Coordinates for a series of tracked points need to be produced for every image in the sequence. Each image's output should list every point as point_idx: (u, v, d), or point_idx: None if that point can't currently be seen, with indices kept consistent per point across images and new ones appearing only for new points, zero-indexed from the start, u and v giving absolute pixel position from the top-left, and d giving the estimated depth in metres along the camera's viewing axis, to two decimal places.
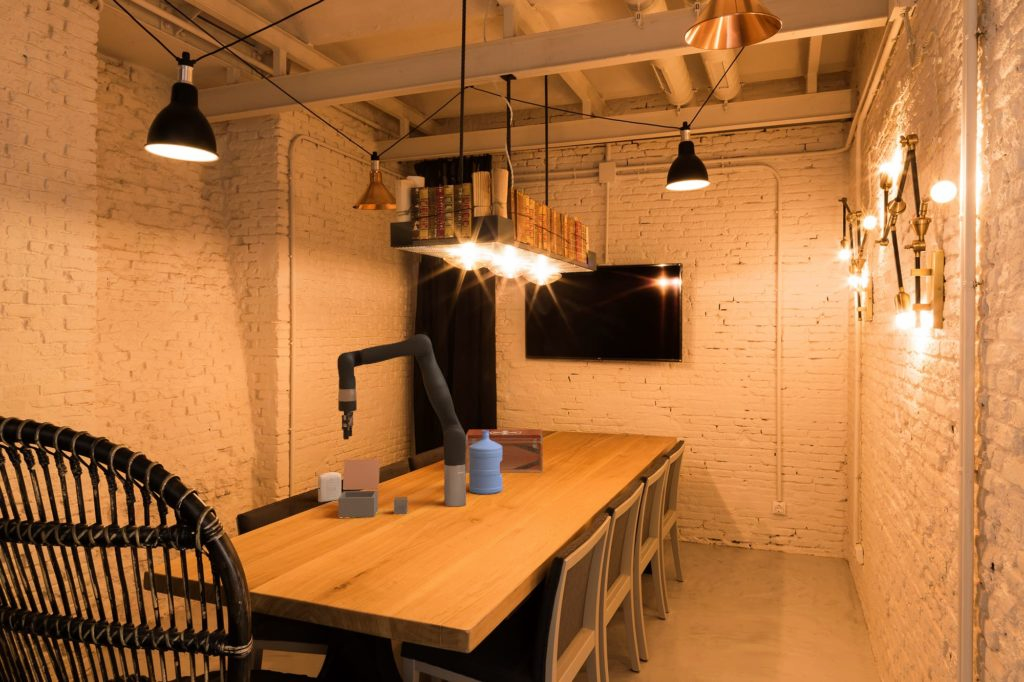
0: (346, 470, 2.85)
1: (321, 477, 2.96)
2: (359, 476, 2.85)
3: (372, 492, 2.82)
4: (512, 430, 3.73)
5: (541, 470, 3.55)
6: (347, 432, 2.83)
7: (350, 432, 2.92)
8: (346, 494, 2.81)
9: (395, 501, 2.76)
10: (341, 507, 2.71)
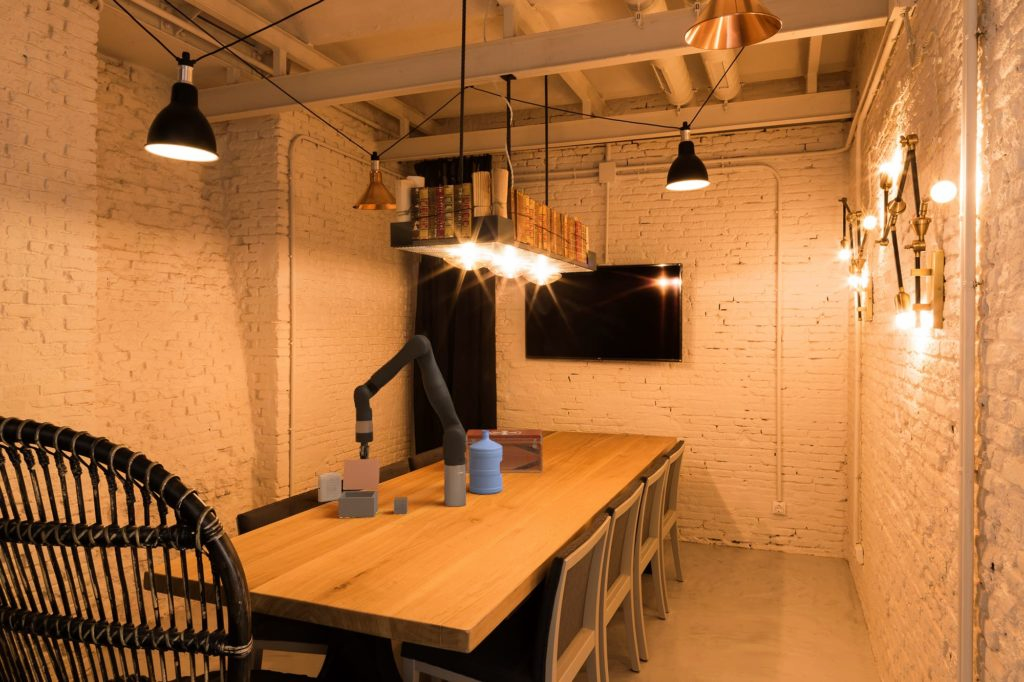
0: (346, 470, 2.85)
1: (321, 477, 2.96)
2: (359, 476, 2.85)
3: (372, 492, 2.82)
4: (512, 430, 3.72)
5: (541, 470, 3.55)
6: None
7: None
8: (346, 494, 2.81)
9: (395, 501, 2.76)
10: (341, 507, 2.71)
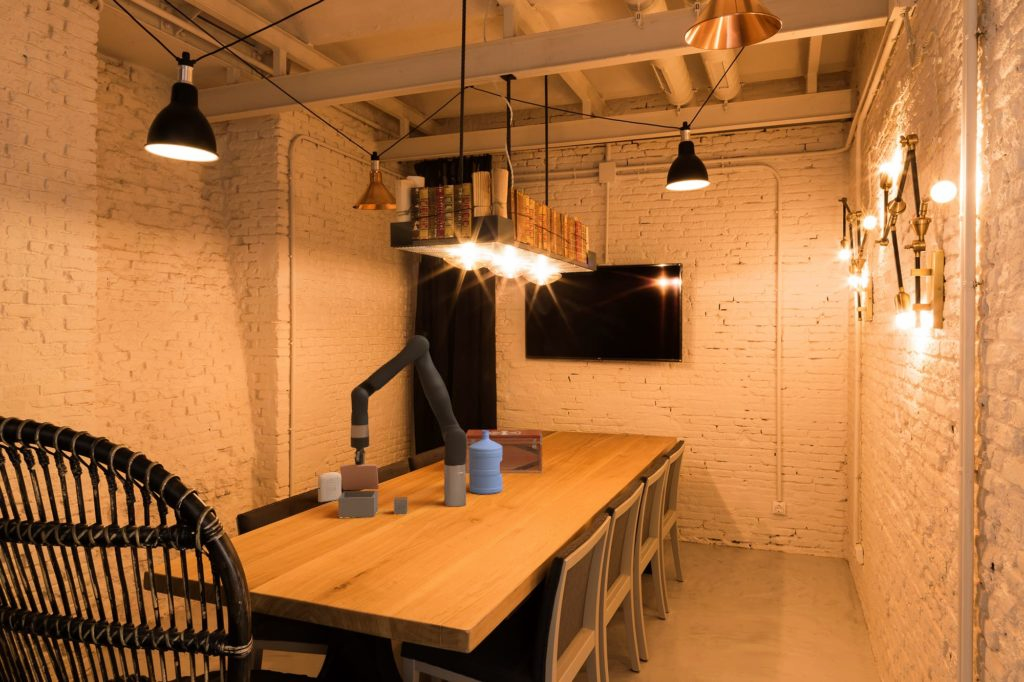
0: (343, 475, 2.79)
1: (321, 477, 2.96)
2: (357, 479, 2.80)
3: (372, 492, 2.82)
4: (511, 430, 3.72)
5: (541, 470, 3.54)
6: None
7: None
8: (346, 494, 2.81)
9: (395, 501, 2.76)
10: (341, 507, 2.71)
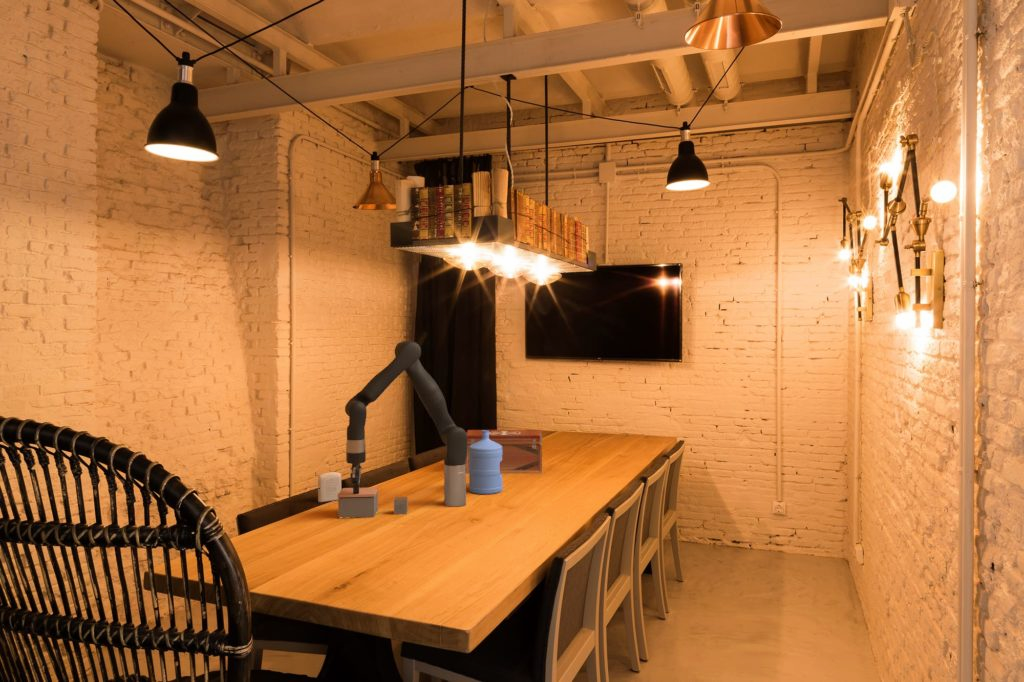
0: None
1: (321, 477, 2.96)
2: None
3: None
4: (511, 430, 3.71)
5: (540, 471, 3.54)
6: (357, 486, 2.71)
7: None
8: None
9: (395, 501, 2.76)
10: (341, 507, 2.71)
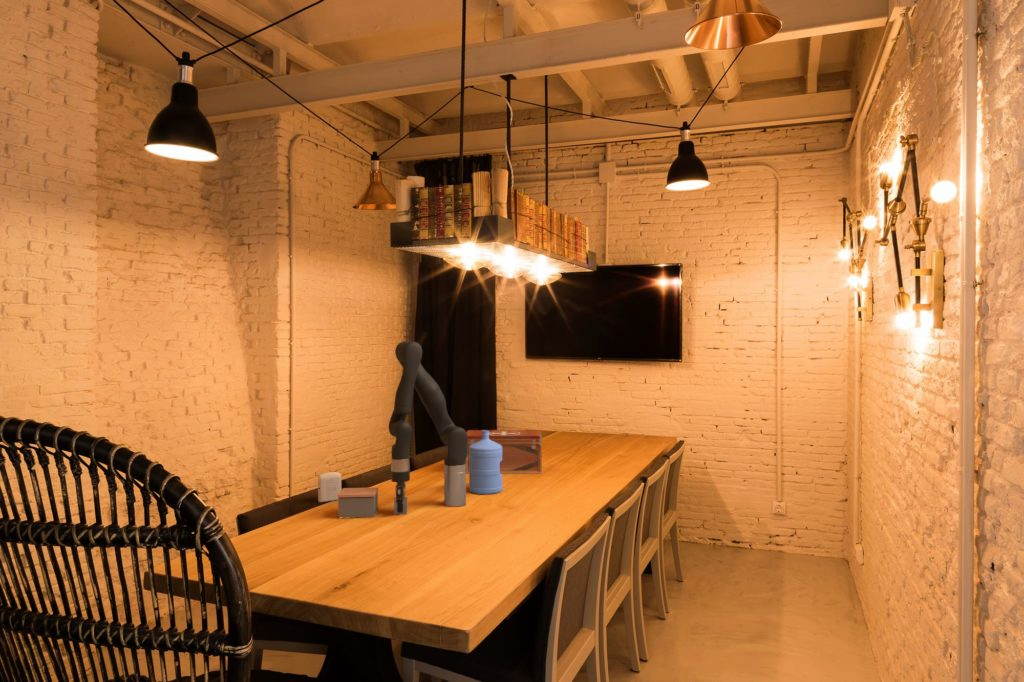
0: None
1: (321, 477, 2.96)
2: None
3: None
4: (511, 431, 3.70)
5: (540, 471, 3.53)
6: (401, 505, 2.75)
7: None
8: None
9: (395, 501, 2.76)
10: (341, 507, 2.71)
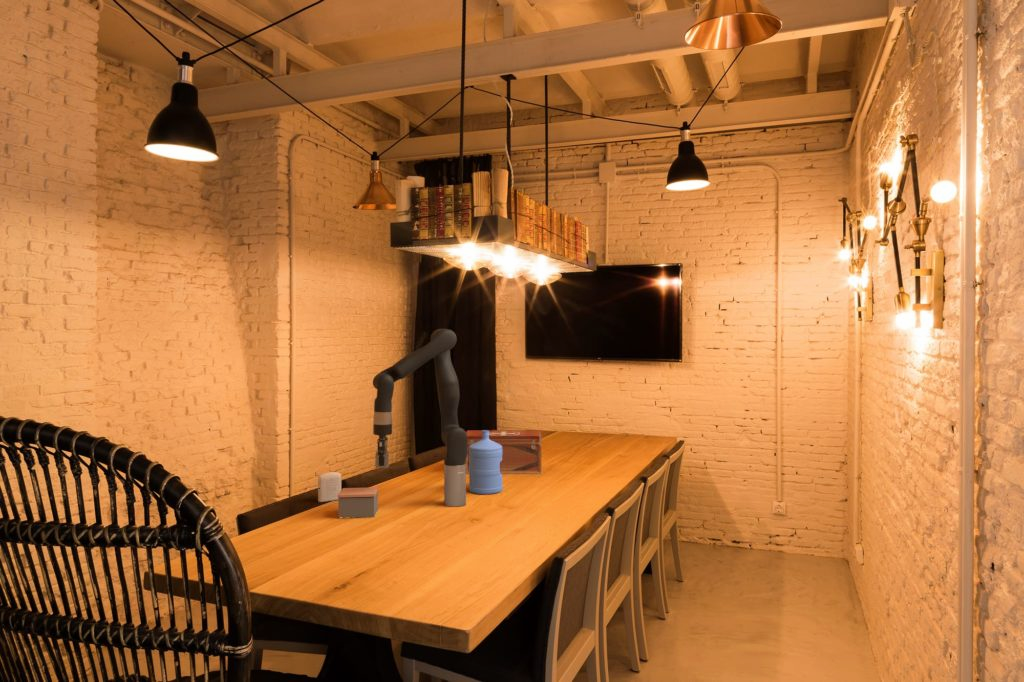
0: None
1: (321, 477, 2.96)
2: None
3: None
4: (511, 431, 3.70)
5: (540, 471, 3.52)
6: (383, 458, 2.74)
7: None
8: None
9: (377, 454, 2.74)
10: (341, 507, 2.71)
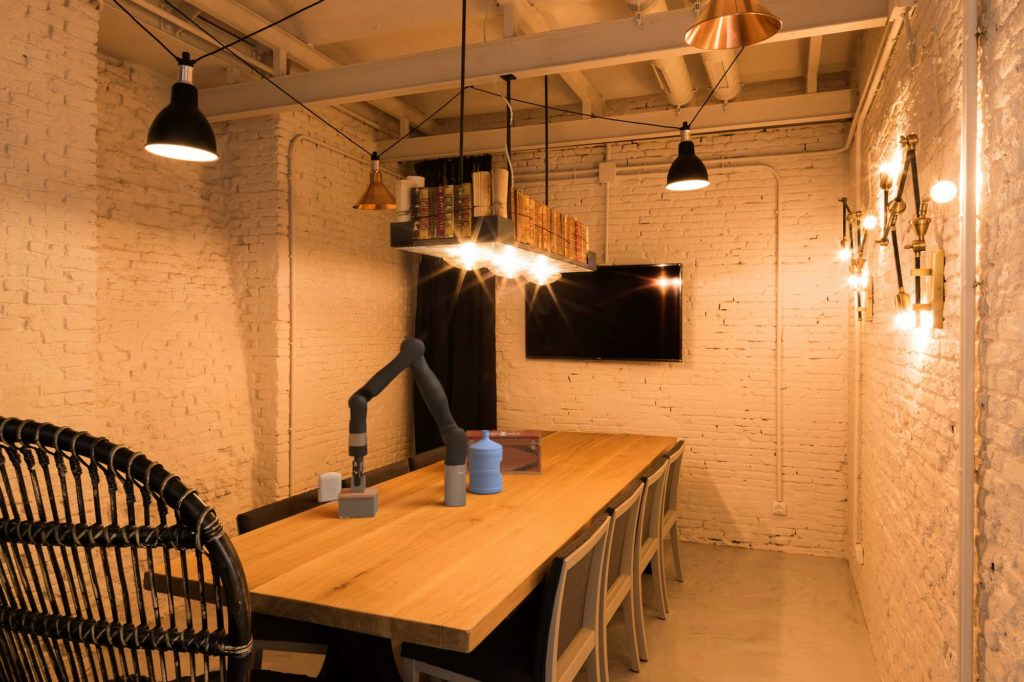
0: None
1: (321, 477, 2.96)
2: None
3: None
4: (510, 431, 3.69)
5: (539, 472, 3.51)
6: (358, 479, 2.72)
7: None
8: None
9: (352, 479, 2.74)
10: (341, 507, 2.71)
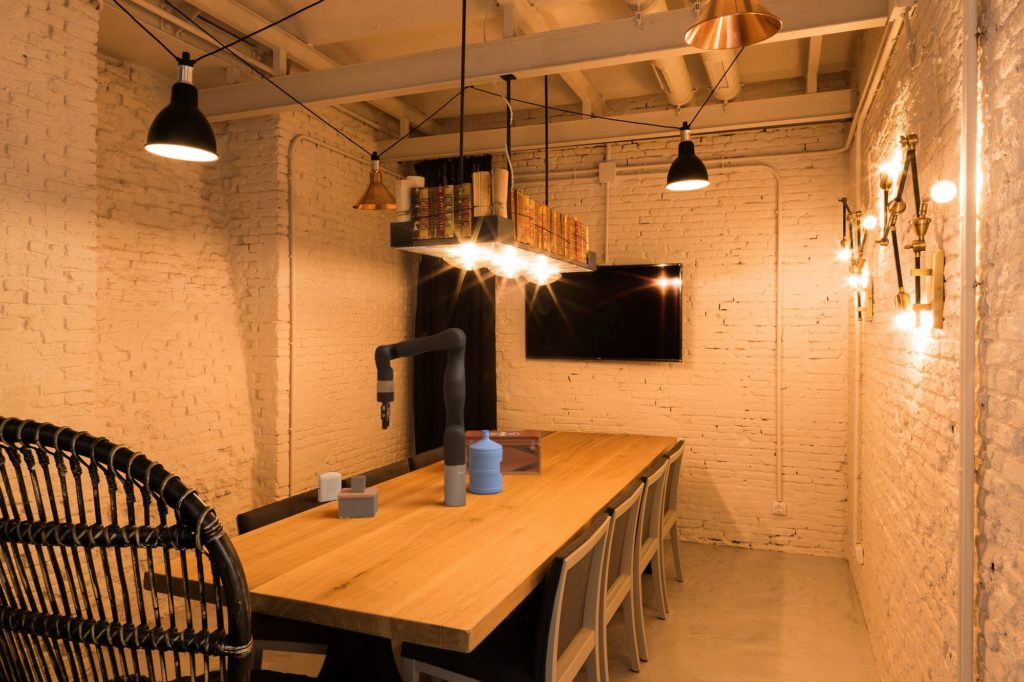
0: None
1: (321, 477, 2.96)
2: None
3: None
4: (510, 431, 3.68)
5: (539, 472, 3.50)
6: (386, 422, 2.92)
7: (387, 422, 3.01)
8: None
9: (352, 479, 2.74)
10: (341, 507, 2.71)
